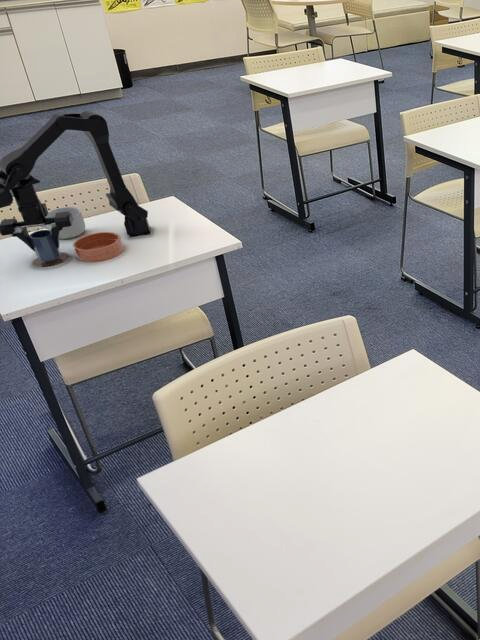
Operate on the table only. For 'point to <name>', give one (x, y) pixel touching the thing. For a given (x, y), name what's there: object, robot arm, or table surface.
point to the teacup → (77, 224)
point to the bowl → (98, 247)
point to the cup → (44, 245)
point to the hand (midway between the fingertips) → (47, 249)
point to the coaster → (51, 261)
